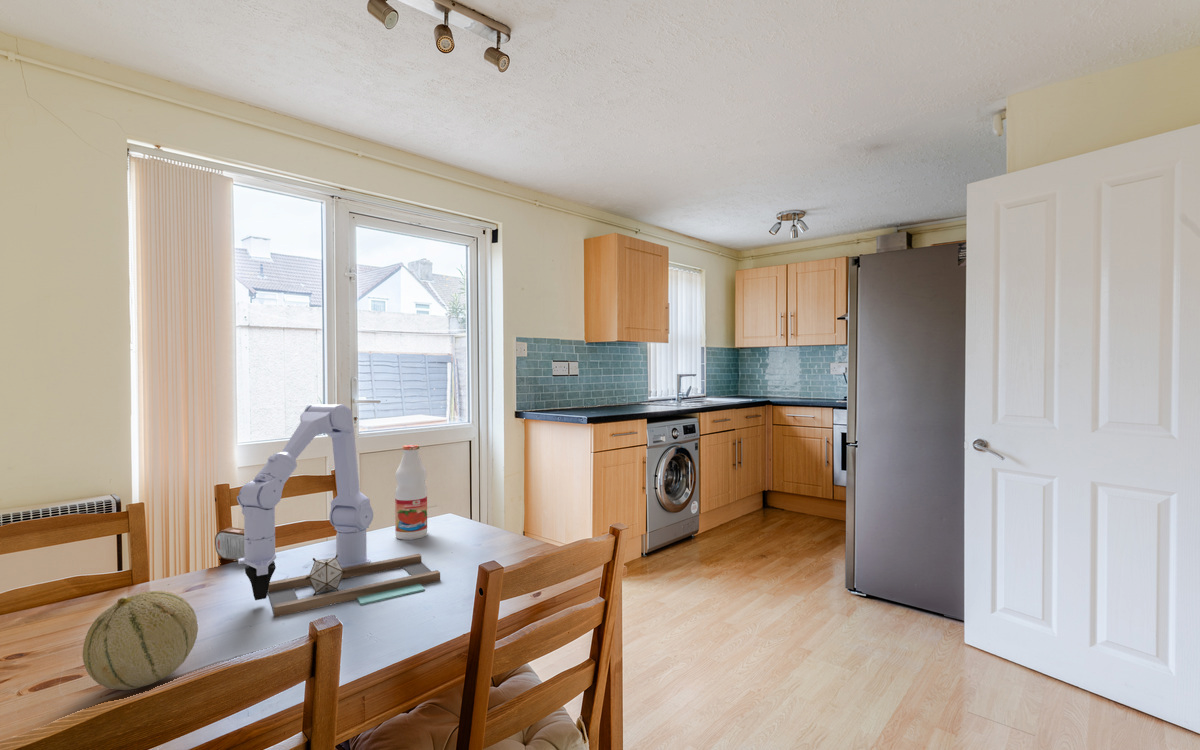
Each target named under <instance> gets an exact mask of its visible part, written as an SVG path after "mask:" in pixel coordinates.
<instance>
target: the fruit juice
mask: <svg viewBox="0 0 1200 750" xmlns="http://www.w3.org/2000/svg"><path fill="white" fill-rule="evenodd" d="M401 449H402V452H403V454H402V457H401V460H400V462H399V466H398V467H397V469H396V471H395V475H394V476H395V482H396V488H395V491H394V499H395V500H394V512H395V513H394V515H395V517H394V522H395V524H394V526H395V529H394V530H395V532H394V533H395V538H397V539H399V540H404V541H411V540H418V539H421V538H424V537H425V536H427V534H428V489H427V485H426V479H427V470H426V468H425V466H424V464H423V461H422V460H421V456H420V454H419V451H420V445H419V444H404V445H403V446H402V448H401Z"/></svg>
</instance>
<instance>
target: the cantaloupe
mask: <svg viewBox="0 0 1200 750" xmlns="http://www.w3.org/2000/svg"><path fill="white" fill-rule="evenodd" d="M198 632H199V625H198V620H197V615H196V613H195V610H194V609H193V607H192V606H191V604H190V603H189V602H188V601H187V600H186V599H184V598H183V597H181V596H179V595H178V594H176V593H173V592H170V591H166V590H165V591H163V590H154V591H153V590H151V591H150V590H148V591H144V592H138V593H137V594H133V595H130V596H128V597H120V598H118V599H117V602H115V603H114V604H113V605H111V606H110V607H108V608H106V610H104V611H103V612H101V614H100V615H99V616H98V617H96V619H95V620H94V622H92V624H91V626H90V627H89V629H88V631H87V633H86V636H85V638H84V641H83V647H82V662H83V665H84V667H85V670H86V672H87V674H88V675H89V677H90V678H91V679H92V680H93V681H94V682H95V683H97V684H98V685H100V686H103V687H105V688H107V689H113V690H121V691H122V690H124V691H129V690H134V689H139V688H142V687H146V686H150V685H152V684H154V683H156V682H159V681H161V680H163V679H165V678H167V677H168V676H170V675H171V674H173V673H174V672H176V671H177V669H178V668H179V667H181V665H182V664H184V662H185V661H186V659H187V658H188V657H189V655H190V654H191V652H192V650H193V648H194V646H195V643H196V640H197V637H198Z"/></svg>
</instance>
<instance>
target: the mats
mask: <svg viewBox="0 0 1200 750" xmlns="http://www.w3.org/2000/svg"><path fill="white" fill-rule="evenodd" d="M401 568H403V570H404V571H405V572H406V571H407V572H408V573H409V574H410V575H411V576H412V575H416V574H421V573H426V572H431V571H432V570H431V569H429V567H428V566H426V565H425V564H424V563H423V562H422V561H421V562H420V563H415V564H410V565H405V566H402V567H401ZM407 572H406V573H407ZM409 574H408V575H409ZM410 575H409V576H410ZM268 595H269V599H270V605H271V607H272V612H273V613H274V604H278V603H283V602H288V601H292V600H297V599H298V596H297V593H296V591H295V589H294V588H289V589H284V590H279V591H274V592H268Z"/></svg>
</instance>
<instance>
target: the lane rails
mask: <svg viewBox="0 0 1200 750" xmlns="http://www.w3.org/2000/svg"><path fill="white" fill-rule="evenodd" d="M420 562H422V555H421V554H420V553H415V554H411V555H406V556H400V557H394V558H389V559H384V560H383V559H382V560H378V561H374V562H373V561H372V562H371V563H367V564H362V565H356V566H351V567H346V568H342V570H343V571H344V570H346V572H345V573H344V574H343V575H342V577H341V580H344V579H343V578H345V579H349V578H348V577H350V578H354V576H355V577H358V576H365V575H370V574H375V573H379V571H380V572H385V571H389V570H395V569H399V567H400V568H403V567H402V566H405V565H410V564H415V563H420ZM384 570H385V571H384ZM374 572H375V573H374ZM309 575H310V573H309V574H306V575H300V576H294V577H293V576H292V577H289V578H284V579H278V580H274V581H270V583H269V588H268V593H269V592H274V591H279V590H284V589H289V588H294V590H295V589H299V588H304V587H309V585H310V586H312V585H311V583H310V581H309V579H307V580H306V579H305V578H306V577H307V576H309ZM440 581H441V572H440V571H439V570H438V569H435V570H431V572H426V573H421V574H416V575H412V576H410V575H408V576H402V577H398V578H393V579H389V580H384V581H379V582H374V583H370V584H364V585H360V586H356V587H354V586H353V587H351V588H346V589H339V591H331V592H327V593H322V594H318V595H317V594H316V595H315V596H314V595H313V596H307V597H303V598H299V599H297V600H292V601H288V602H283V603H278V604H274V612H273V615H274V618H277V617H282V616H288V615H290V614H292V615H293V614H296V613H300V612H305V611H309V610H314V609H319V608H322V607H327V606H326V605H328V606H331V605H330V604H332V605H335V604H334V603H337V604H340V603H339V602H342V603H345V601H346V602H350V601H353V600H354V601H355V600H357V597H361V596H365V595H370V594H374V593H379V592H383V591H388V590H393V589H397V588H402V587H406V586H411V585H415V584H421V585H422V586H423V585H426V584H432V583H435V582H436V583H437V582H440Z"/></svg>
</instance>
